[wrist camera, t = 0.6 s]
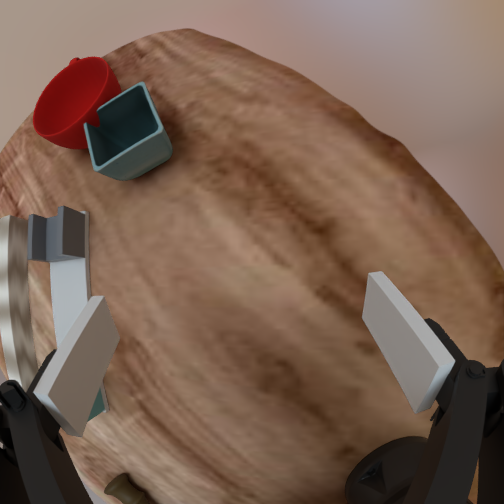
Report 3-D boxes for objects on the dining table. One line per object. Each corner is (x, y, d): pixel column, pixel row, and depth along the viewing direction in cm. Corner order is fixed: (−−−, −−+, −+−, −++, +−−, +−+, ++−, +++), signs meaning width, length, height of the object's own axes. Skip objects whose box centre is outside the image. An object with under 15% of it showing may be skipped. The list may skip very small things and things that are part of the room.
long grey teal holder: (109, 410, 33) (87, 425, 27) (73, 403, 33) (50, 416, 27) (89, 212, 36) (63, 201, 30) (54, 220, 36) (29, 211, 30)
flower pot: (113, 146, 37) (81, 118, 28) (166, 116, 37) (143, 79, 28) (129, 196, 36) (93, 173, 27) (187, 163, 36) (164, 129, 27)
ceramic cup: (129, 66, 39) (105, 29, 29) (145, 138, 37) (113, 101, 27) (67, 101, 39) (37, 73, 29) (72, 178, 37) (31, 154, 27)
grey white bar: (47, 402, 34) (28, 410, 29) (34, 398, 34) (16, 406, 29) (30, 221, 37) (9, 215, 32) (18, 224, 37) (-2, 218, 32)
